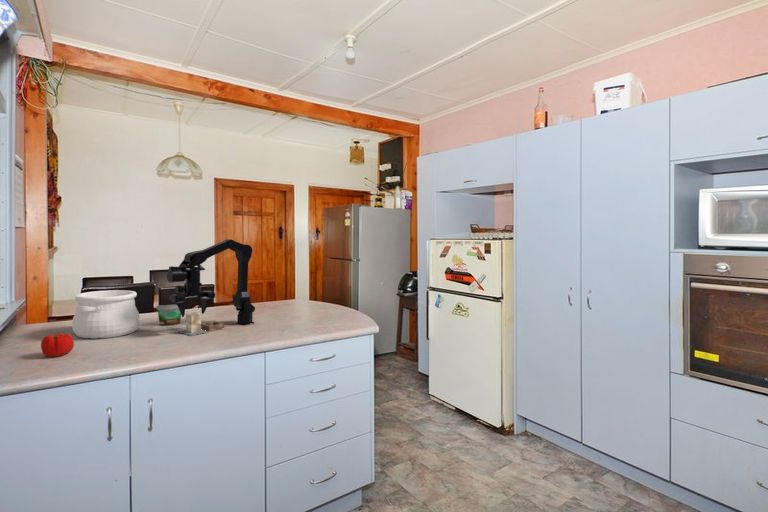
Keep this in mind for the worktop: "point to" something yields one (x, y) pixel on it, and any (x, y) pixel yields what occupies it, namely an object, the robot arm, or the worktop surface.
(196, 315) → the birch block
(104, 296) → the pot
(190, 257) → the robot arm
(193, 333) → the slate mat
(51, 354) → the tomato
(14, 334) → the worktop surface
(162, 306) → the food container
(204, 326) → the walnut pocket
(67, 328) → the worktop surface
